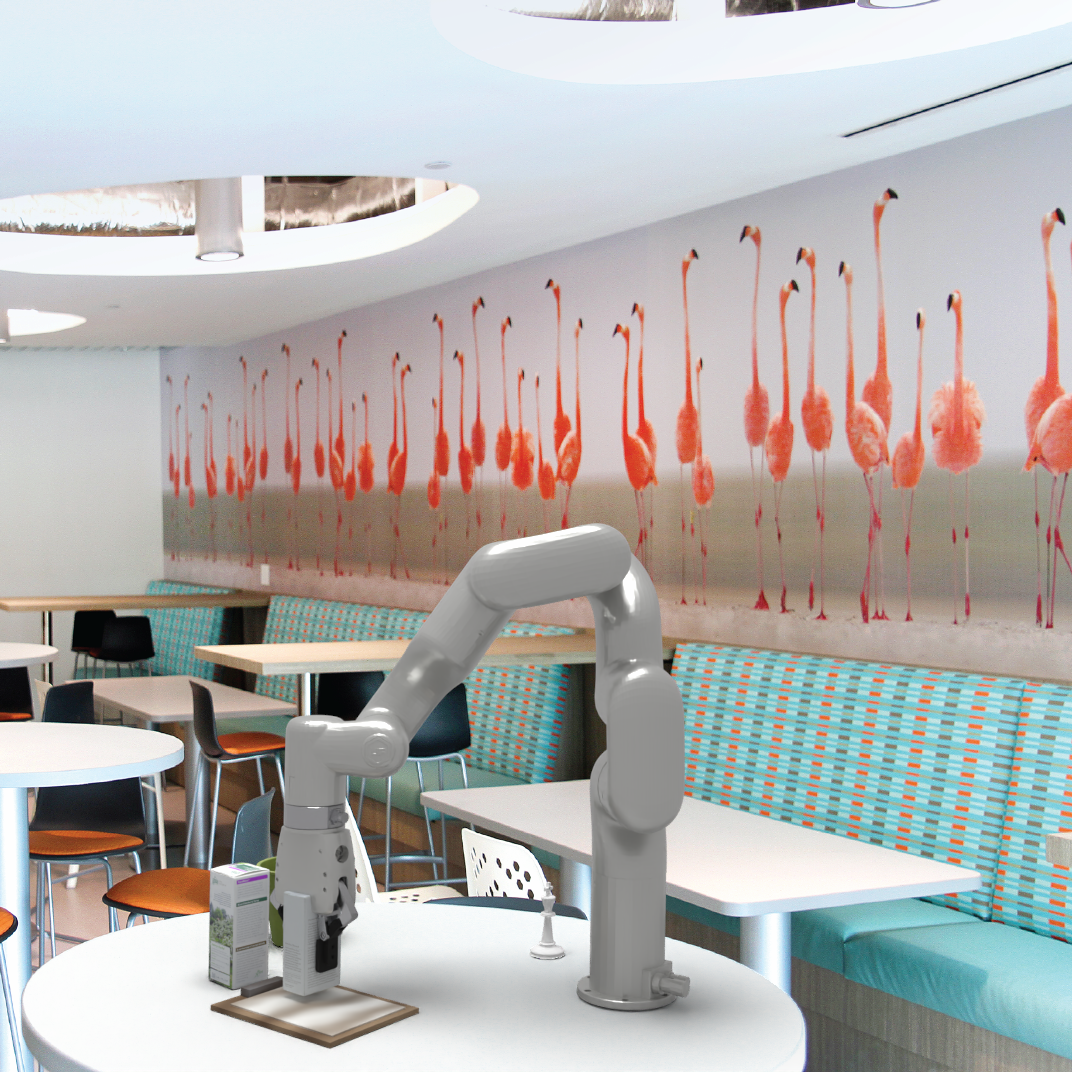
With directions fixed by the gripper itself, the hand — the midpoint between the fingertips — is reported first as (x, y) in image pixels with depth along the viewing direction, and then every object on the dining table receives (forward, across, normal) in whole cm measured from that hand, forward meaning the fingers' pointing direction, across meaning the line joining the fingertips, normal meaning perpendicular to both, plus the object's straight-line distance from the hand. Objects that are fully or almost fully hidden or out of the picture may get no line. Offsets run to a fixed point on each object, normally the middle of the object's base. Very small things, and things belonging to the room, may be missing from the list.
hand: (311, 964), depth 160 cm
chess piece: (+5, -11, -35) cm, 37 cm away
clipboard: (+5, -3, +2) cm, 6 cm away
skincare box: (+3, 0, 0) cm, 3 cm away
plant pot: (+5, +20, -17) cm, 27 cm away
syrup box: (+5, +13, 0) cm, 14 cm away
